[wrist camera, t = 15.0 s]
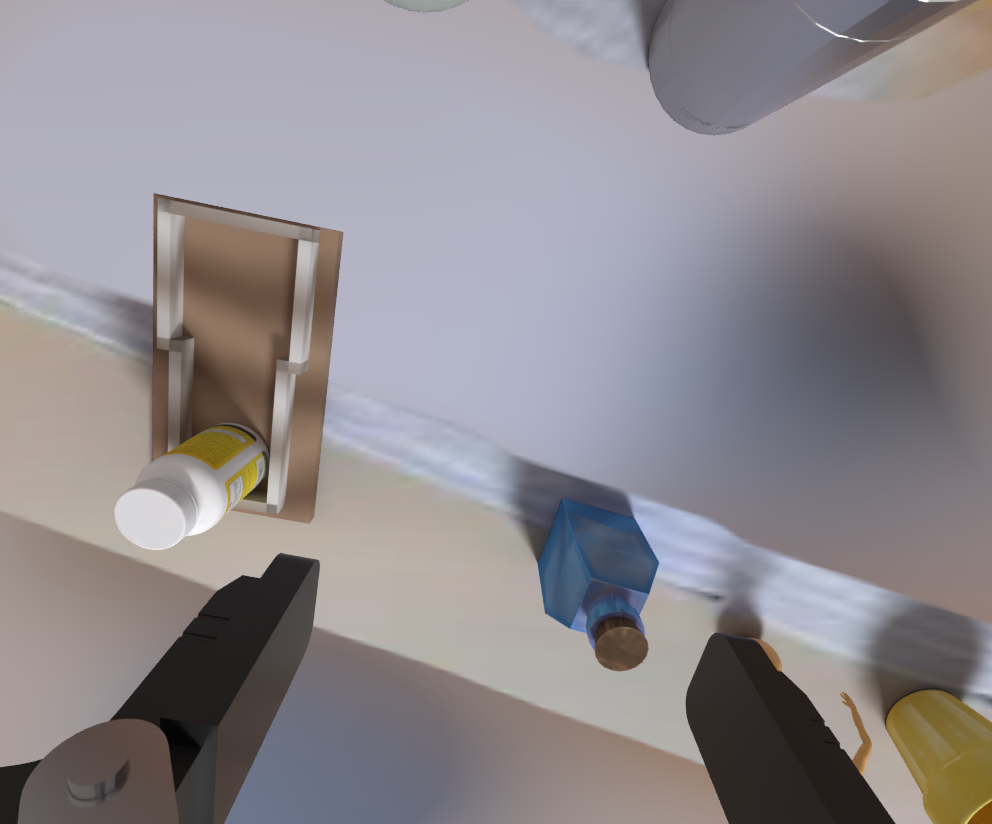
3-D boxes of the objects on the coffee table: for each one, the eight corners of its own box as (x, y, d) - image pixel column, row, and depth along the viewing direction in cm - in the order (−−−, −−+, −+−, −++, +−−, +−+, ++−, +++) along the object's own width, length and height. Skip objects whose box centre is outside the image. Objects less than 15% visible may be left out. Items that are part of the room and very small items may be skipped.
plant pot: (912, 776, 48) (1012, 900, 39) (841, 725, 46) (928, 841, 37) (1001, 709, 46) (1132, 823, 37) (930, 652, 44) (1048, 757, 35)
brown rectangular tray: (163, 195, 33) (137, 189, 31) (343, 232, 34) (331, 229, 32) (161, 491, 39) (139, 506, 37) (313, 517, 40) (302, 533, 38)
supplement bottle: (184, 436, 37) (80, 494, 28) (249, 410, 37) (164, 460, 27) (222, 498, 38) (135, 573, 29) (284, 473, 38) (216, 542, 29)
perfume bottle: (537, 563, 41) (554, 677, 30) (562, 498, 40) (590, 593, 28) (607, 581, 42) (650, 701, 30) (634, 518, 40) (691, 620, 29)
